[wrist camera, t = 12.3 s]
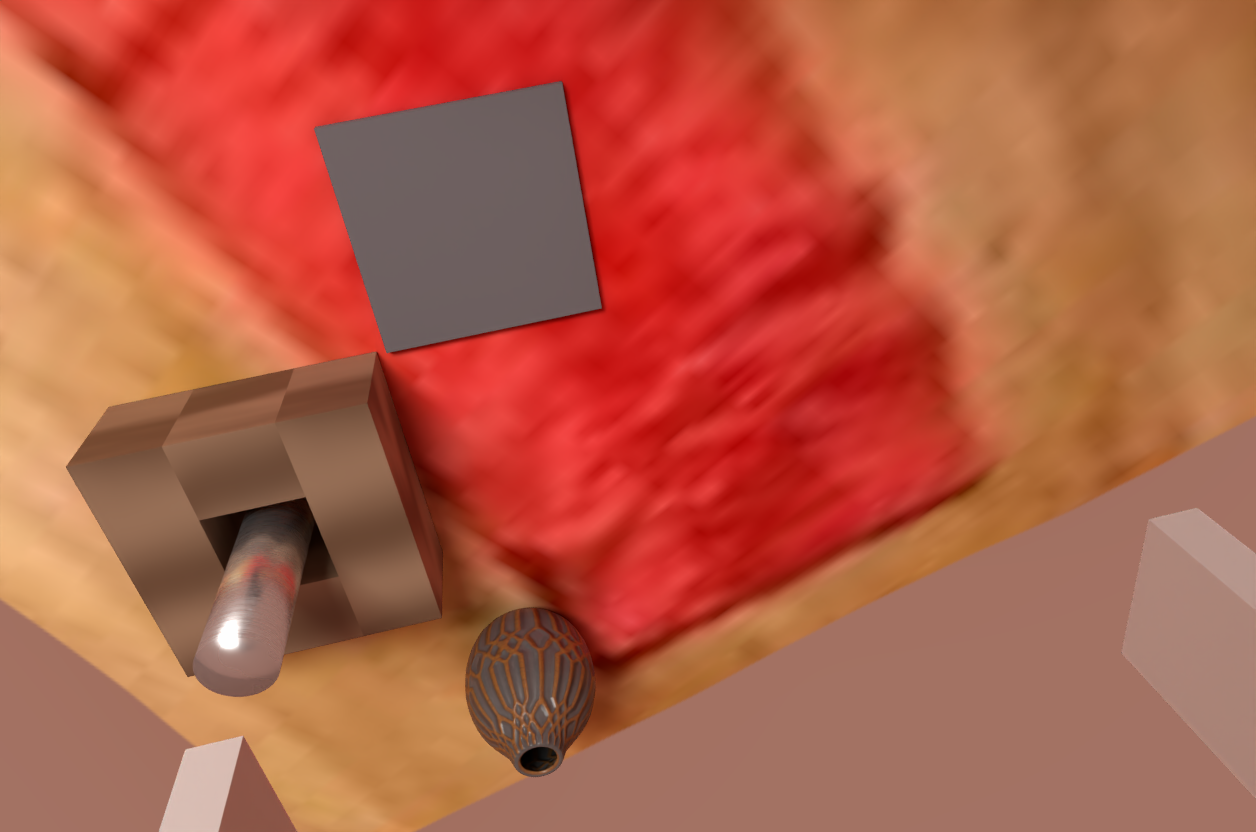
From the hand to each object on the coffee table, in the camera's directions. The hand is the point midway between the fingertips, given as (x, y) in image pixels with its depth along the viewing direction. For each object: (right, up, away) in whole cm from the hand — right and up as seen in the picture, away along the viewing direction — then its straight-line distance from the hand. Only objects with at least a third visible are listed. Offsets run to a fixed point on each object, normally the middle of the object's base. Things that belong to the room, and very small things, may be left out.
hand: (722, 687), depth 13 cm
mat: (-8, +12, +25) cm, 29 cm away
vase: (-7, -8, +37) cm, 39 cm away
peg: (-18, +1, +30) cm, 35 cm away
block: (-18, +1, +30) cm, 35 cm away
